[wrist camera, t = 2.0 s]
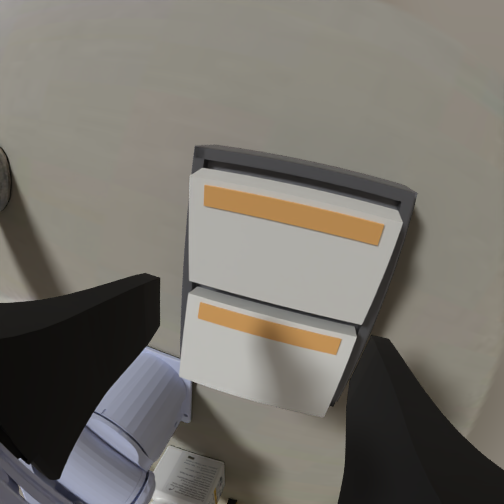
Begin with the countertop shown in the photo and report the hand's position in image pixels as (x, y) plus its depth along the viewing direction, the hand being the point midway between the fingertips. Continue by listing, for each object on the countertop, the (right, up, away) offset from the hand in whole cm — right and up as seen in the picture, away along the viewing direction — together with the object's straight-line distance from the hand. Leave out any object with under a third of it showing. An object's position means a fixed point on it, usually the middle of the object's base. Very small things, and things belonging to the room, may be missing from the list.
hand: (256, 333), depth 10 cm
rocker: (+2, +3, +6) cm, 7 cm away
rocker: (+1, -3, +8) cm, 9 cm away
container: (-7, -26, +24) cm, 36 cm away
